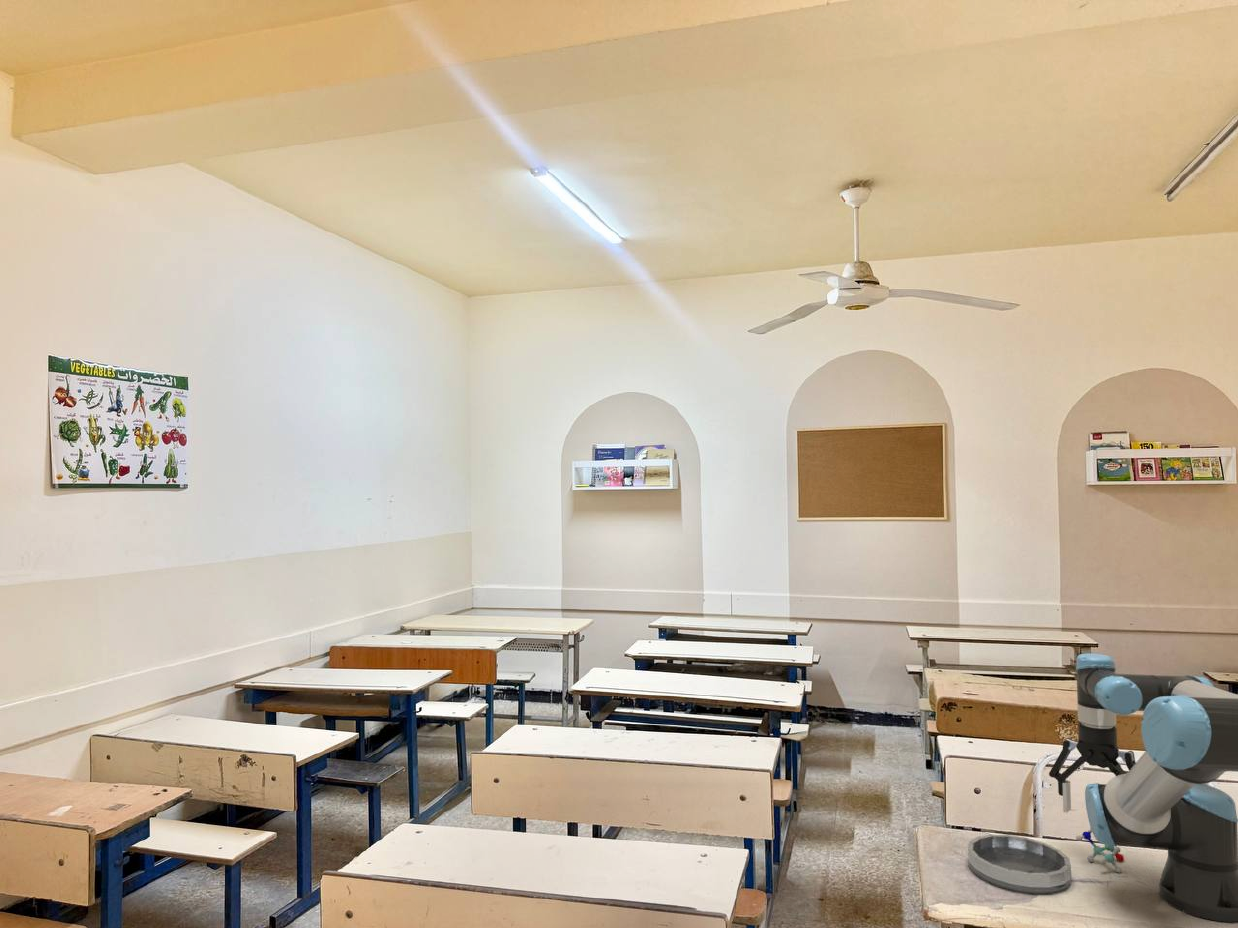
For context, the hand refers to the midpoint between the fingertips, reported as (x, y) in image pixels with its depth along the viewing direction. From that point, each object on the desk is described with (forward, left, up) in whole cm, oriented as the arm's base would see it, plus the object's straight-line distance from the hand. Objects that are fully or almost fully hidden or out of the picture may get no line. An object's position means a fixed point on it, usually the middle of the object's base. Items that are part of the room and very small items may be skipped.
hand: (1099, 819), depth 182 cm
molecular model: (0, 0, -10) cm, 10 cm away
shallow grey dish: (+11, +18, -10) cm, 23 cm away
